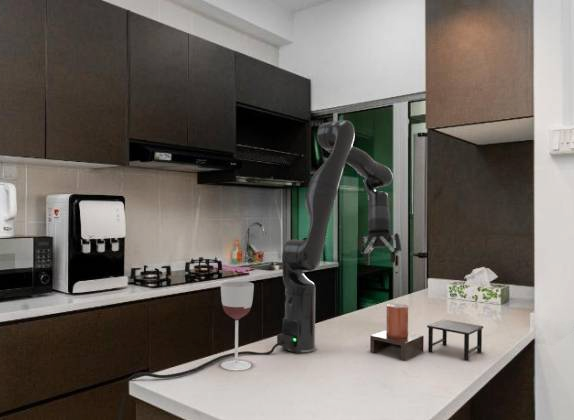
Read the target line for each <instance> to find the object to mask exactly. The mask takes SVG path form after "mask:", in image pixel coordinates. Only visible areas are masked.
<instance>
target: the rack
mask: <svg viewBox="0 0 574 420" xmlns="http://www.w3.org/2000/svg"><path fill="white" fill-rule="evenodd" d="M426 328H427V329H428V337H427V338H428V342H427V343H428V344H427V347H428V348H427V352H428V353H433V349H434V348H433V347H434V346H436V345H438V344H440V343H442V346H443V347H447V345H448V344H447V341H448V340H447V339H448V332H450V333H455V334H460V335H463V336H464V337H463V338H464V339H463V360H464V361H466V362H468V361H469V360H470V353H473V352H474V351H476V353H477V354H482V352H483V351H482V349H483V347H482V345H483V343H482V342H483V341H482V340H483V329H484V326H483V325H479V324H473V323H467V322H462V321H461V322H460V321H456V320H455V321H454V320H450V319H444V318H443V319H441V320H438V321H435V322H433V323H429V324H427V325H426ZM434 330H439V331H442V338H441V339H438V340H435V341H434ZM475 333H476V334H477V335H476V345H475V346H474V347H472V348H470V335H472V334H475Z"/></svg>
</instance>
